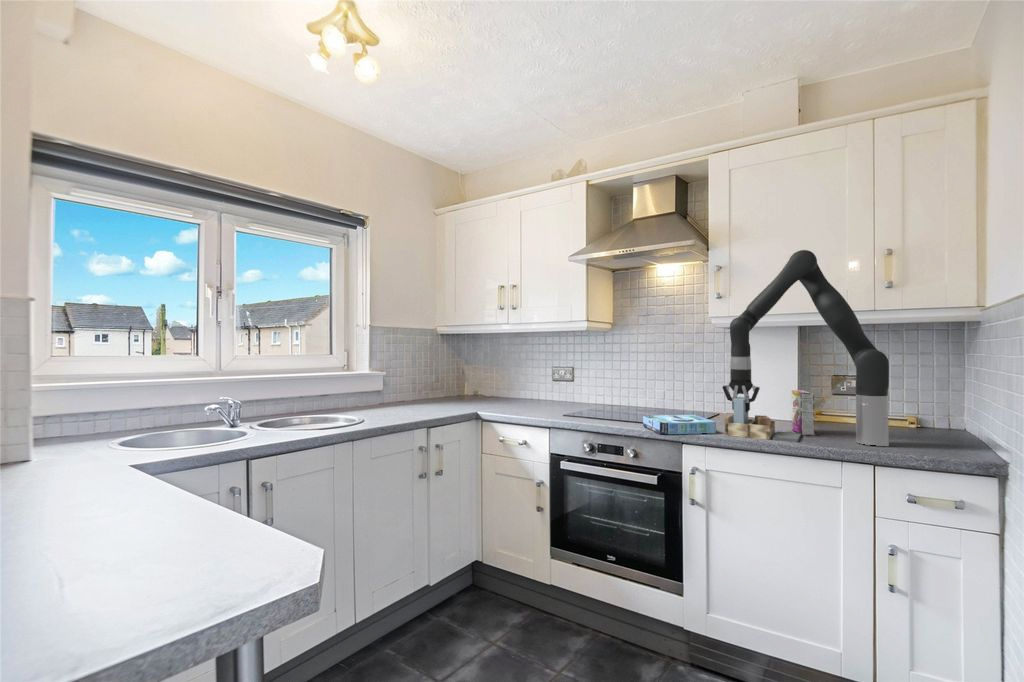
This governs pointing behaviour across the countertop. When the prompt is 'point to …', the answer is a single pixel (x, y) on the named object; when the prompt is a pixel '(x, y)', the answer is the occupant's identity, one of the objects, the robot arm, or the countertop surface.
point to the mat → (787, 436)
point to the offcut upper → (762, 420)
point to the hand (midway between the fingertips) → (741, 411)
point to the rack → (748, 429)
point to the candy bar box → (802, 412)
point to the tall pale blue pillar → (740, 411)
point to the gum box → (679, 424)
